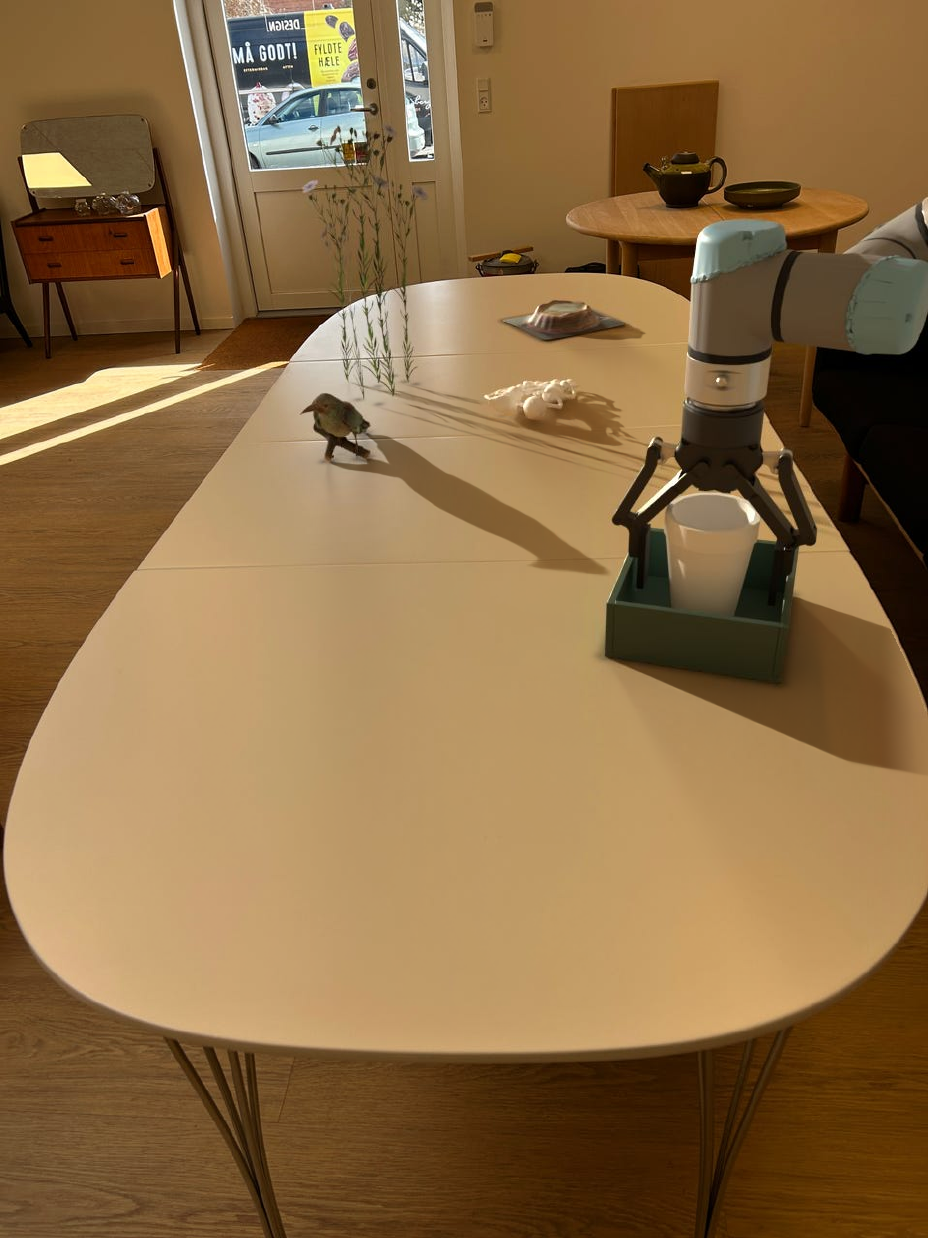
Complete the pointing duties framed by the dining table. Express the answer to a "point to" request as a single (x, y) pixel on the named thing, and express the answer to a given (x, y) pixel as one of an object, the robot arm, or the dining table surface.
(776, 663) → the dish tub
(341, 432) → the bird figurine
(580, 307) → the quiche
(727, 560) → the foam cup
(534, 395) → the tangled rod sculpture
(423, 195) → the wildflower
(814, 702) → the dining table surface
